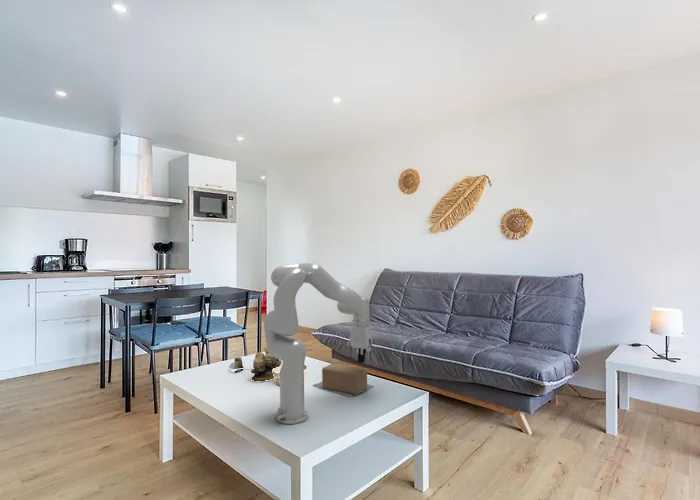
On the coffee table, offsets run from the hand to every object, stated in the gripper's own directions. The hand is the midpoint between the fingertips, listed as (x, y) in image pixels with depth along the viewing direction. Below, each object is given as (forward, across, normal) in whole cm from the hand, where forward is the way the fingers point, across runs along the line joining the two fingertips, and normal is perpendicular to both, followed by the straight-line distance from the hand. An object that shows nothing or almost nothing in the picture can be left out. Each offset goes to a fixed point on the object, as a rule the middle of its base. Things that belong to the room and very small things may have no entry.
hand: (361, 362), depth 186 cm
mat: (+14, -12, +1) cm, 19 cm away
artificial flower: (+15, -71, -14) cm, 74 cm away
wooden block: (+9, +2, -1) cm, 9 cm away
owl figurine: (+14, -52, -15) cm, 56 cm away
